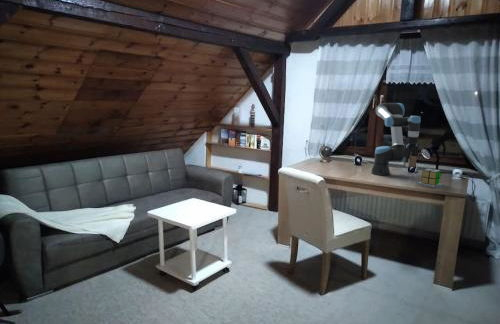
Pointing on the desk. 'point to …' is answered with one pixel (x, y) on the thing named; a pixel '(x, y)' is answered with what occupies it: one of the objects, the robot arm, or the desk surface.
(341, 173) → the desk surface
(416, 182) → the build board
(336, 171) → the desk surface
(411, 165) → the walnut block
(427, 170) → the puzzle cube
